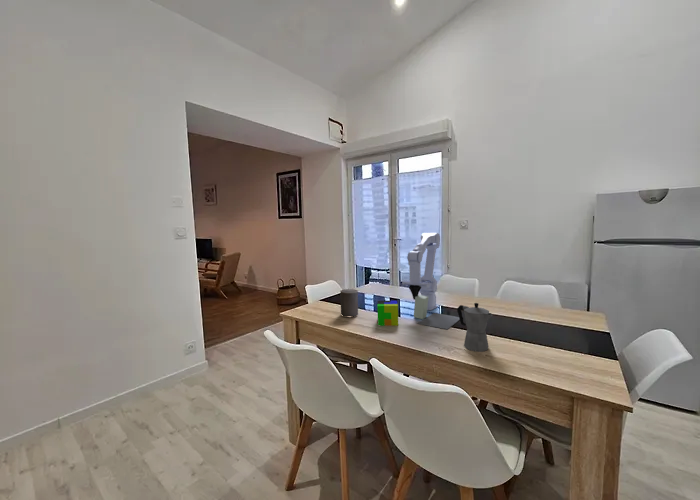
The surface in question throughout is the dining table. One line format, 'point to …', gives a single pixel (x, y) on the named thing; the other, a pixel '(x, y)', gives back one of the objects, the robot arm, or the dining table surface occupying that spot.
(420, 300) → the tall block
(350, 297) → the pillar candle
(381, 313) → the puzzle toy
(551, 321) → the dining table surface
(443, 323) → the mat
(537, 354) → the dining table surface
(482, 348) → the coffeepot
